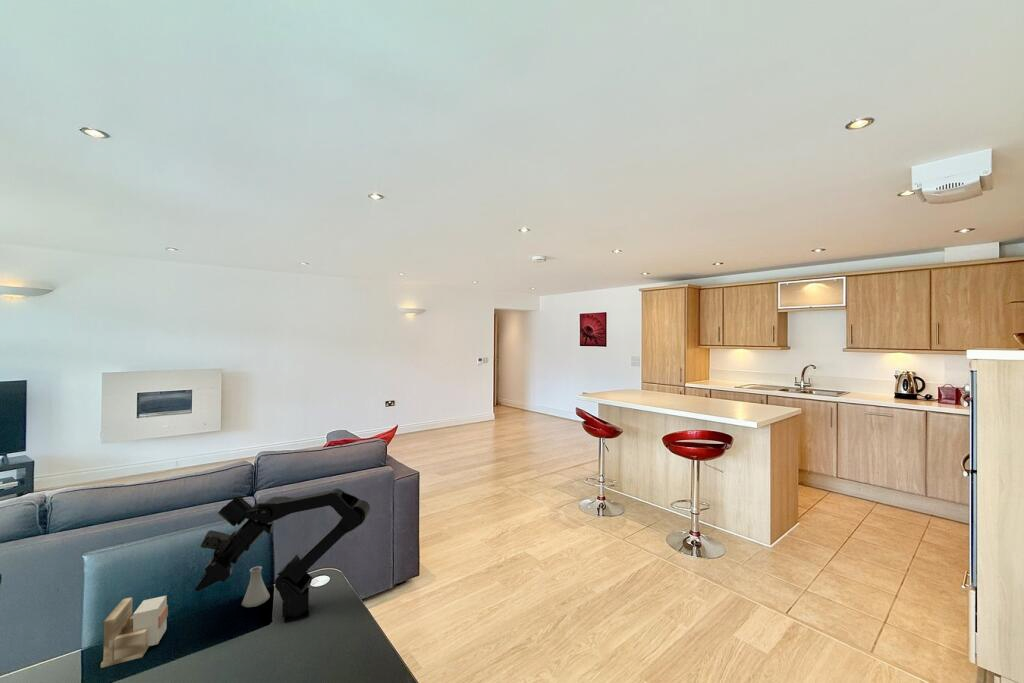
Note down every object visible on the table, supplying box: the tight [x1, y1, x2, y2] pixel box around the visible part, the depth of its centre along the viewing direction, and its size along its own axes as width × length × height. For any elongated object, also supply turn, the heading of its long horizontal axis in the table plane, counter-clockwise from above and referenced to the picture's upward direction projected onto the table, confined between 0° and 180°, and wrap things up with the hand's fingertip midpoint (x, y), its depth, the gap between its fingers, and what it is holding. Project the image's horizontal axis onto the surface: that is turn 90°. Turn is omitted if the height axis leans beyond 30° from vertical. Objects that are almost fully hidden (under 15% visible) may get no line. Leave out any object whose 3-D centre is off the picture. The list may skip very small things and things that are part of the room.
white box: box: [132, 594, 169, 648], centre depth 111 cm, size 5×7×9 cm
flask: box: [241, 565, 271, 608], centre depth 129 cm, size 7×7×10 cm
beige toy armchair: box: [100, 596, 150, 669], centre depth 109 cm, size 8×11×11 cm
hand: (198, 585), depth 115 cm, fingers open, 6 cm apart
